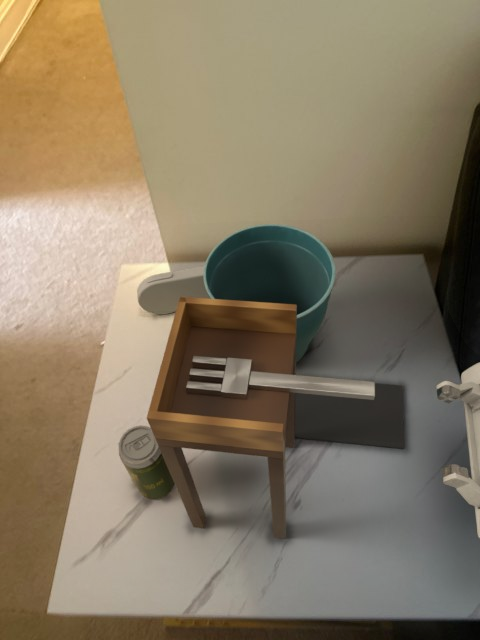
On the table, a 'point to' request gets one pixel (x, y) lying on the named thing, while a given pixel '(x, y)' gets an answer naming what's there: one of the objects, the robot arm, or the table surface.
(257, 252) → the flower pot
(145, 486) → the beer can
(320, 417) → the mat
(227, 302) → the stand
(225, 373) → the fork
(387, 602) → the table surface
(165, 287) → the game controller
